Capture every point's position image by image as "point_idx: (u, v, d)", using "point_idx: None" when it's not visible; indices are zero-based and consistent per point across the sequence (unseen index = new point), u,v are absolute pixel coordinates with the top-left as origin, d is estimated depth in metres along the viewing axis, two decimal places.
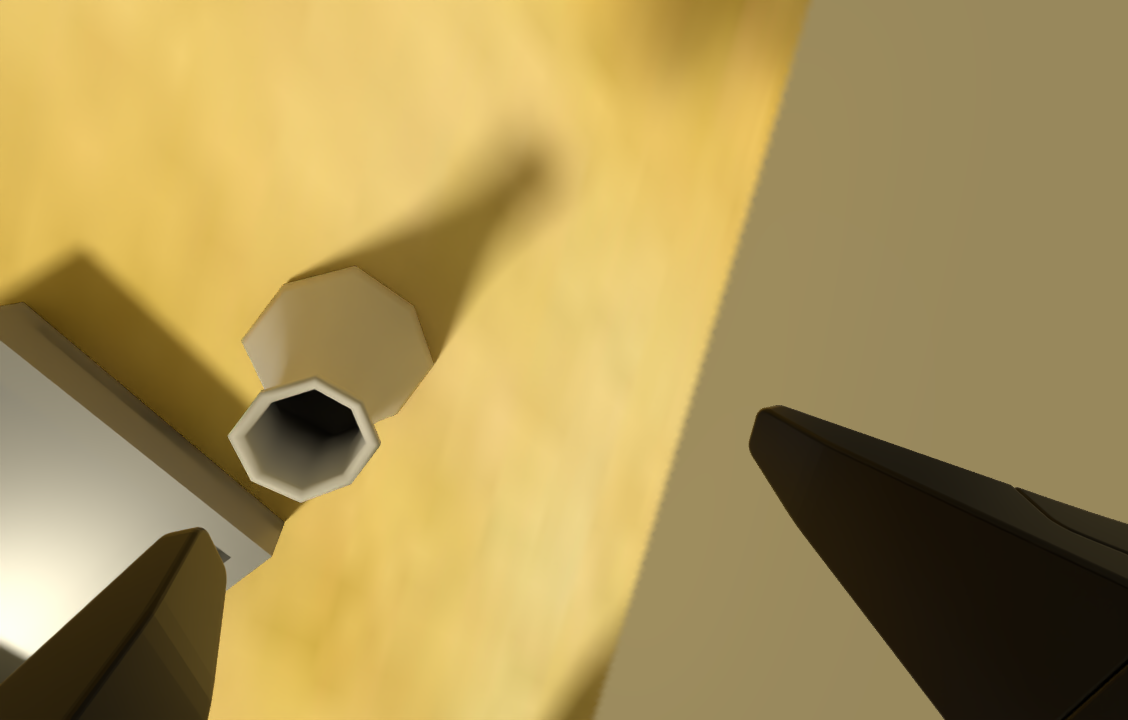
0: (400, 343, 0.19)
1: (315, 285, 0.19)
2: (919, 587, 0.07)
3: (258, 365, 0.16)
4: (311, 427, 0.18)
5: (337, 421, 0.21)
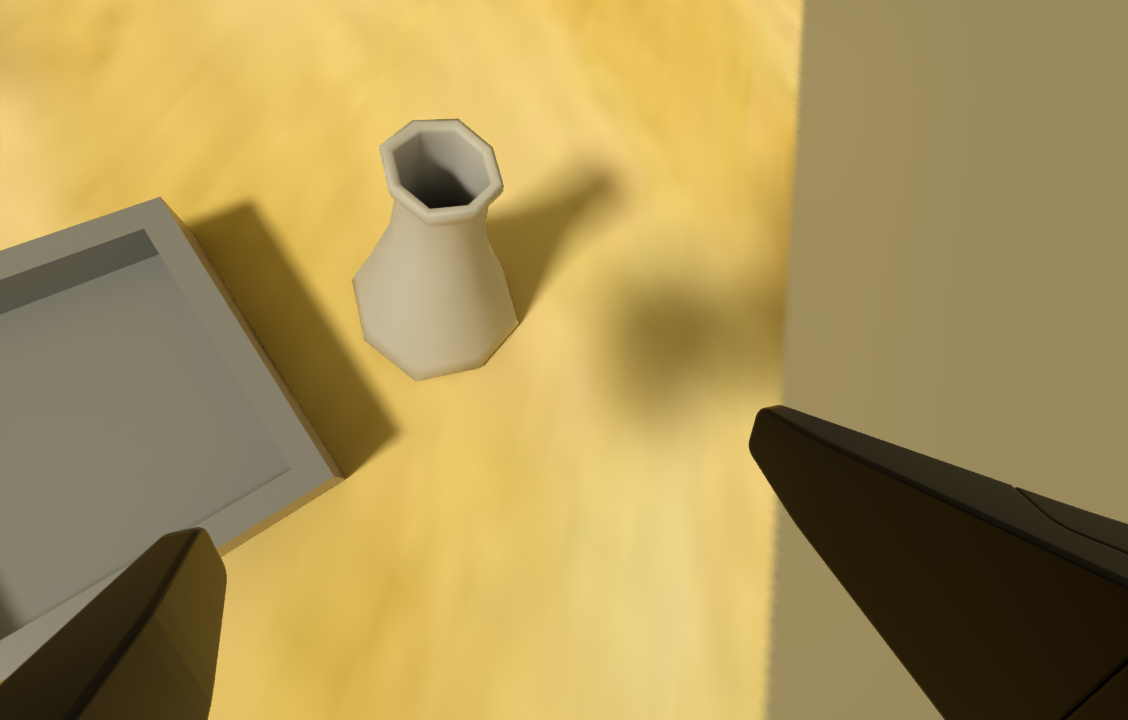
0: (496, 264, 0.20)
1: None
2: (919, 587, 0.07)
3: (377, 244, 0.18)
4: (407, 322, 0.18)
5: None
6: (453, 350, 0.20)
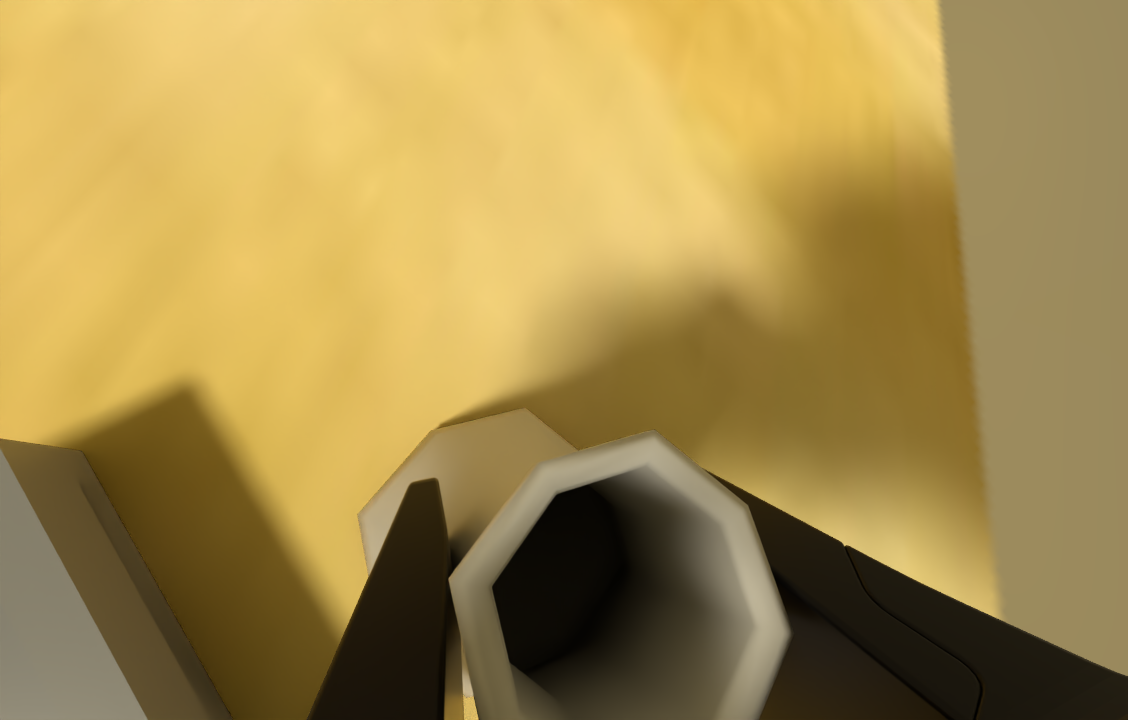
0: None
1: (479, 425, 0.13)
2: None
3: None
4: (463, 663, 0.10)
5: None
6: None
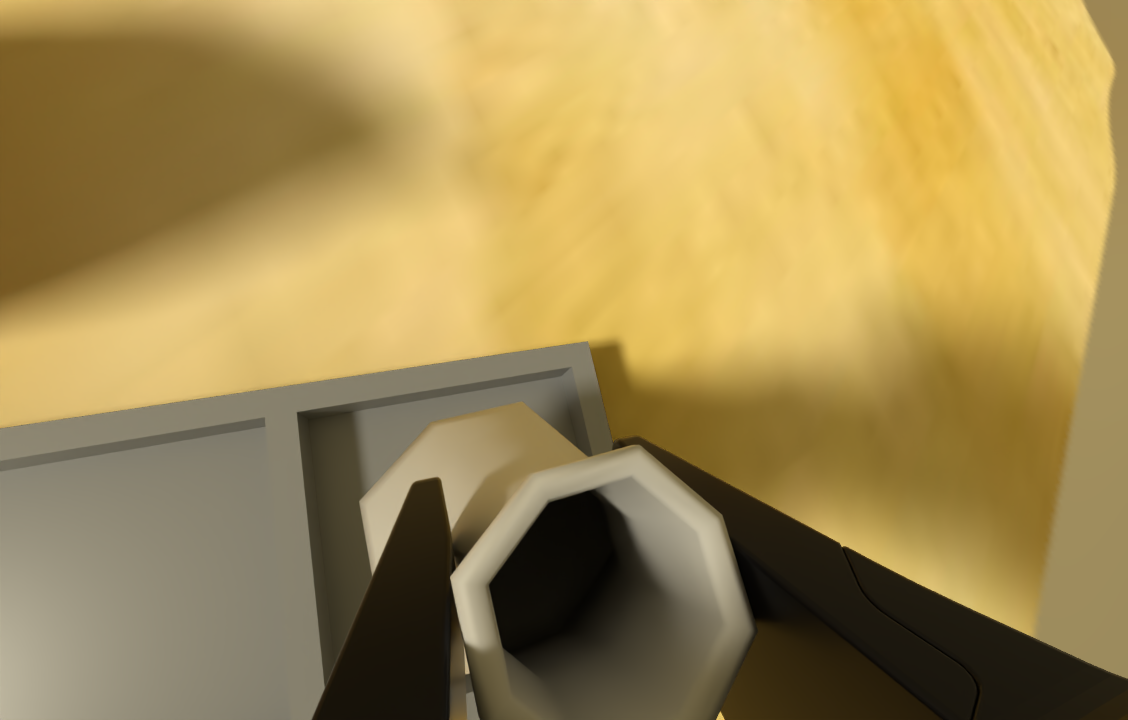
0: None
1: (478, 418, 0.13)
2: None
3: None
4: None
5: None
6: (528, 646, 0.12)
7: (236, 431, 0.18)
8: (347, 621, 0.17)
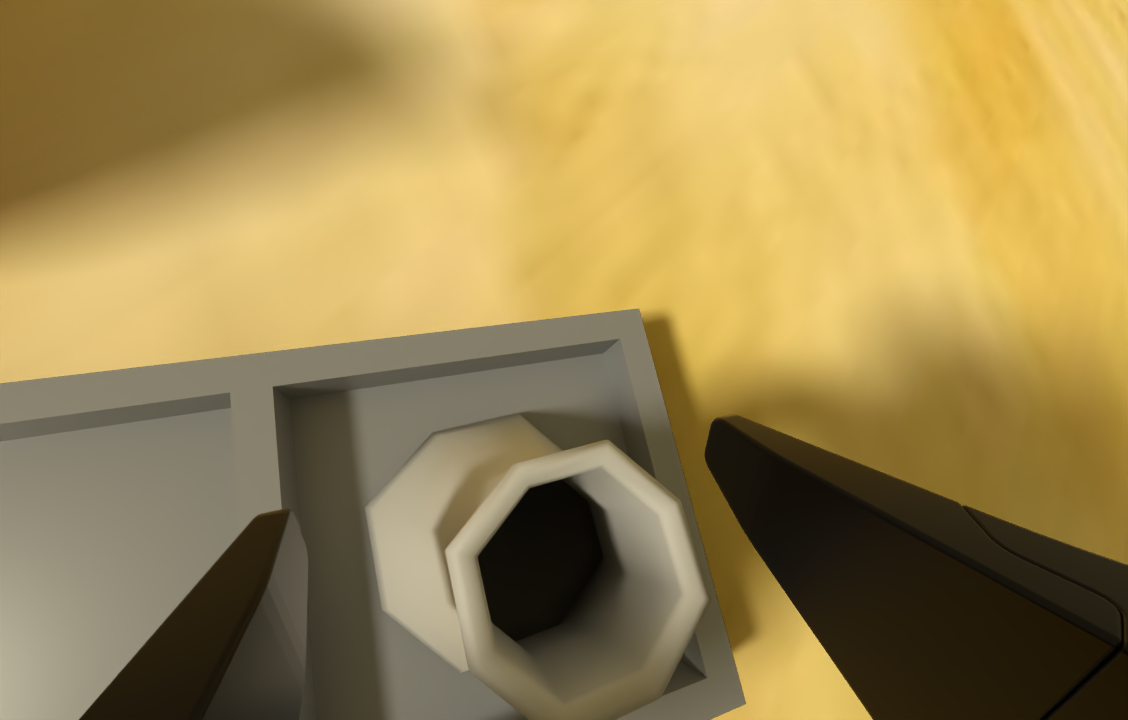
0: None
1: (476, 428, 0.14)
2: (865, 609, 0.06)
3: (409, 516, 0.11)
4: None
5: None
6: None
7: (196, 412, 0.14)
8: (335, 662, 0.13)
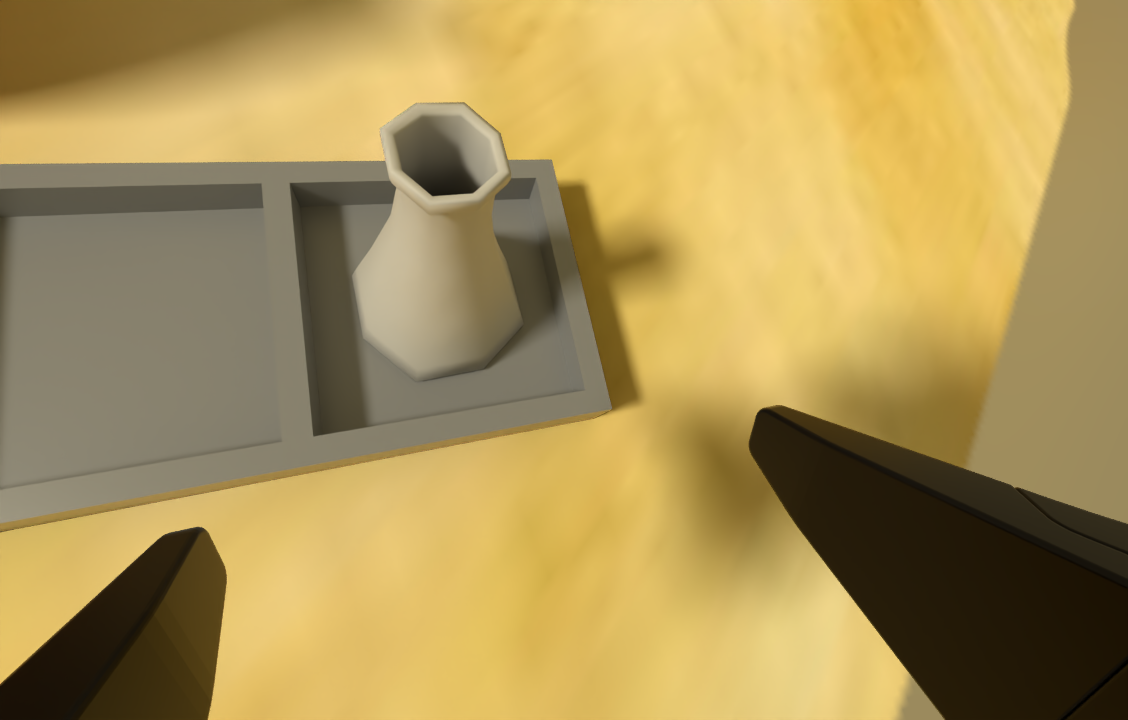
0: None
1: None
2: (919, 587, 0.07)
3: (377, 238, 0.17)
4: (408, 319, 0.17)
5: None
6: (455, 350, 0.19)
7: (236, 208, 0.20)
8: (331, 367, 0.19)
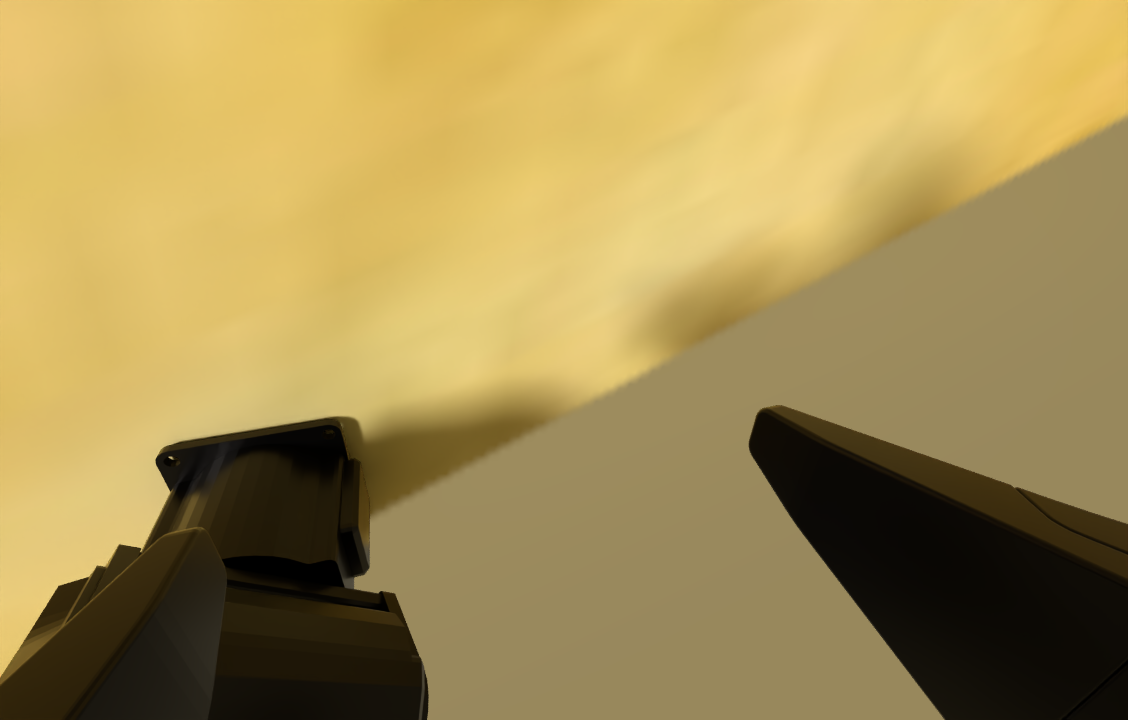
0: None
1: None
2: (919, 587, 0.07)
3: None
4: None
5: None
6: None
7: None
8: None
